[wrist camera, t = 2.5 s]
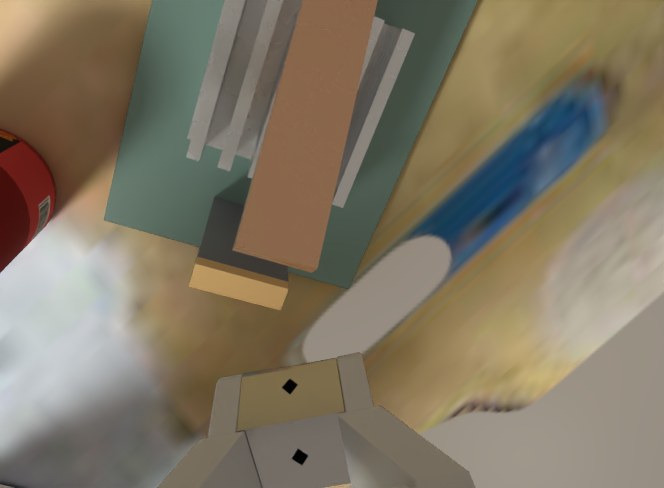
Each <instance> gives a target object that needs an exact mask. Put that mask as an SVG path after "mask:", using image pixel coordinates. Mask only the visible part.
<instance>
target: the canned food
mask: <svg viewBox="0 0 664 488" xmlns="http://www.w3.org/2000/svg"><path fill="white" fill-rule="evenodd" d="M55 195H56V191H55V184H54V180H53V177H52V174H51V171H50V169H49V168H48V166H47V164H46V162H45V161H44V159H43V158H42V157H41V156H40V155H39V153H38V152H37V151H36V150H35V149H34V148H33V147H31V146H30V145H29V144H28V143H27V142H25V141H24V140H22V139H20V138H19V137H17V136H15V135H13V134H11V133H9V132H6V131H4V130H0V273H1V272H2V271H3V270H4V269H5V267H6V266H7V265H8V264H9V263H10V262H11V261H12V260H13V259H14V258H15V257H16V256H17V255H18V254H19V253H20V252H21V251H22V250H23V249H24V248H25V247H26V246H27V245H28V244H29V243H30V242H31V241H32V240H33V239H34V238H35V237H36V236H37V234H38V233H39V232H40V231H41V230H42V229H43V228H44V227H45V226H46V225H47V223H48V222H49V220H50V218H51V216H52V213H53V210H54V205H55Z"/></svg>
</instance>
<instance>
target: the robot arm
mask: <svg viewBox="0 0 664 488" xmlns="http://www.w3.org/2000/svg"><path fill="white" fill-rule="evenodd" d="M337 363H338V364H337ZM339 374H340V375H339ZM348 483H351V486H352V487H353V488H475V485H474V483H473V480H472V478H471V475H470V473H469V471H467V470H466V469H465V468H463V467H462V466H461V465H459V464H458V463H457V462H455V461H454V460H453V459H451V458H450V457H449V456H447V455H446V454H445V453H443V452H442V451H441V450H439V449H438V448H437V447H435V446H434V445H433V444H431V443H430V442H428V441H427V440H426V439H425V438H423V437H422V436H421V435H419V434H418V433H417V432H415V431H414V430H413V429H411V428H410V427H409V426H407V425H406V424H405V423H403V422H402V421H401V420H399V419H398V418H397V417H395V416H394V415H393V414H391V413H390V412H389V411H387V410H386V409H385V408H383V407H382V406H378V407H374V405H373V400H372V396H371V392H370V388H369V383H368V379H367V375H366V371H365V367H364V362H363V358H362V355H361V353H359V352H358V353H354V354H349V355H344V356H339V357H337V359H336V358H332V359H327V360H322V361H316V362H311V363H306V364H300V365H295V366H288V367H282V368H275V369H269V370H263V371H256V372H250V373H244V374H239V375H233V376H227V377H221V378H219V379H218V381H217V383H216V388H215V394H214V401H213V407H212V413H211V420H210V426H209V432H208V438H204V439H200V440H199V441H198V442H197V444H196V445H195V446H194V447H193V448H192V449H191V450H190V451H189V452H188V454H187V455H186V456H185V457H184V458H183V459H182V460H181V461H180V463H179V464H178V465H177V466H176V467H175V468H174V469H173V470H172V472H171V473H170V474H169V475H168V476H167V477H166V478H165V479H164V481H163V482H162V483H161V484H160V485H159V486H158V487H157V488H323V487H329V486H336V485H342V484H348ZM0 488H13V487H10V486H5V485H0Z"/></svg>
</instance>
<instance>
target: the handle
mask: <svg viewBox="0 0 664 488" xmlns="http://www.w3.org/2000/svg"><path fill="white" fill-rule="evenodd" d="M377 1H378V0H302V2H301V6H300V9H299V13H298V16H297V20H296V23H295V27H294V31H293V34H292V38H291V41H290V45H289V49H288V52H287V56H286V59H285V63H284V66H283V70H282V74H281V77H280V81H279V84H278V88H277V91H276V95H275V99H274V102H273V106H272V109H271V113H270V116H269V120H268V124H267V127H266V131H265V134H264V138H263V142H262V145H261V149H260V152H259V156H258V159H257V163H256V167H255V170H254V174H253V177H252V181H251V184H250V188H249V192H248V195H247V199H246V202H245V206H244V210H243V213H242V217H241V220H240V224H239V227H238V231H237V235H236V238H235V242H234V245H233V249H232V250H233V251H237V252H240V253H244V254H247V255H251V256H254V257H258V258H261V259H265V260H268V261H272V262H275V263H279V264H282V265H286V266H289V267H293V268H296V269H300V270H303V271H307V272H310V273H312V272H313V271H315V270H316V269H317V268H318V264H319V259H320V255H321V250H322V246H323V242H324V237H325V233H326V228H327V224H328V219H329V215H330V210H331V206H332V202H333V197H334V193H335V188H336V184H337V179H338V175H339V170H340V166H341V162H342V157H343V153H344V148H345V144H346V139H347V135H348V130H349V126H350V122H351V117H352V113H353V108H354V104H355V99H356V95H357V90H358V86H359V81H360V77H361V73H362V68H363V64H364V59H365V55H366V50H367V46H368V41H369V37H370V33H371V28H372V24H373V19H374V15H375V10H376V6H377Z"/></svg>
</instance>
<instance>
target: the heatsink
mask: <svg viewBox="0 0 664 488" xmlns="http://www.w3.org/2000/svg"><path fill="white" fill-rule="evenodd" d="M301 2H302V0H225V1H224V5H223V8H222V12H221V16H220V19H219V23H218V27H217V31H216V34H215V38H214V42H213V45H212V49H211V53H210V56H209V60H208V64H207V67H206V71H205V75H204V78H203V82H202V86H201V90H200V93H199V97H198V101H197V104H196V108H195V112H194V115H193V119H192V123H191V126H190V130H189V134H188V137H187V139H190V140H191V141H190V145H189V149H188V152H187V156H186V157H187V158H190V159H193V160H196V161H199V160H200V158H201V156H202V154H203V151H204V149H205V147H206V145H209V146H212V147H215V148H218V149H221V150H222V153H221V157H220V160H219V163H218V168H221V169H224V170H227V171H230V169H231V166H232V163H233V160H234V157H235V154H236V155H239V156H242V157H245V158H248V159H250V162H249V170H248V177H249V178H252V177H253V174H254V170H255V167H256V163H257V159H258V156H259V152H260V149H261V145H262V142H263V138H264V134H265V131H266V127H267V124H268V120H269V116H270V113H271V109H272V106H273V102H274V99H275V95H276V91H277V88H278V84H279V81H280V77H281V74H282V70H283V66H284V63H285V59H286V56H287V52H288V49H289V45H290V41H291V38H292V34H293V31H294V27H295V23H296V20H297V16H298V13H299V9H300V6H301ZM384 21H385V20H382V19H380V18H378V17H375V16H374V19H373V24H372V28H371V33H370V37H369V41H368V46H367V50H366V55H365V59H364V64H363V68H362V73H361V77H360V81H359V86H358V90H357V95H356V99H355V104H354V108H353V113H352V117H351V122H350V126H349V130H348V135H347V139H346V144H345V148H344V153H343V157H342V162H341V166H340V170H339V175H338V179H337V184H336V188H335V193H334V197H333V202H332V205H335V206H338V207H341V208H343V207H344V204H345V202H346V199H347V197H348V195H349V192H350V190H351V187H352V185H353V182H354V180H355V178H356V175H357V173H358V170H359V168H360V166H361V163H362V161H363V158H364V156H365V153H366V151H367V149H368V146H369V144H370V141H371V139H372V136H373V134H374V132H375V129H376V127H377V124H378V122H379V120H380V117H381V115H382V112H383V110H384V107H385V105H386V103H387V100H388V98H389V95H390V93H391V91H392V88H393V86H394V83H395V81H396V78H397V76H398V74H399V71H400V69H401V66H402V64H403V62H404V59H405V57H406V54H407V52H408V49H409V47H410V45H411V42H412V40H413V37H414V35H415V33H412V32H410V31H408V30H406V29H403V28H399V27H395V26H391V25H387V24H385V23H384Z"/></svg>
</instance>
